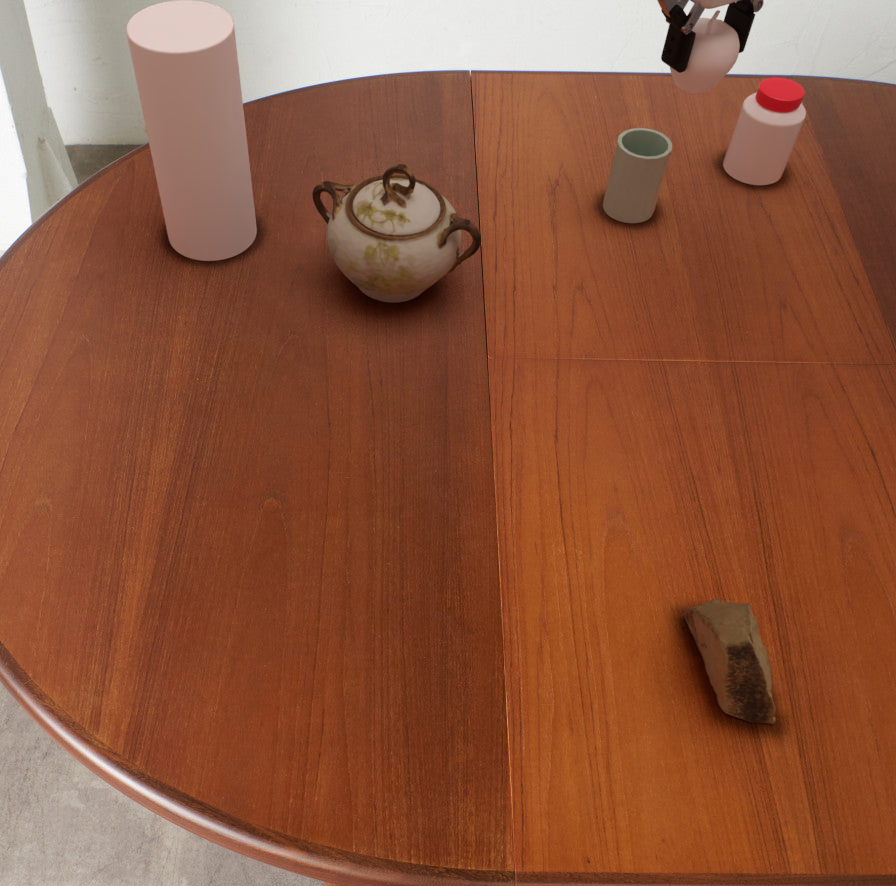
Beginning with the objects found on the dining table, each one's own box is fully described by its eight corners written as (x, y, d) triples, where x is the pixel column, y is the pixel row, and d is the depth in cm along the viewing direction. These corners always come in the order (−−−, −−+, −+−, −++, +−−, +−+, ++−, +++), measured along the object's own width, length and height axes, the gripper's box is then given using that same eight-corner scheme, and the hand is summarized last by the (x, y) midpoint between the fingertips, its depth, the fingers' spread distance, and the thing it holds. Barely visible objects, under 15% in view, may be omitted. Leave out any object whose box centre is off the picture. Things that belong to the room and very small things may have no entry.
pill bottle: (773, 192, 121) (805, 112, 112) (714, 174, 123) (741, 94, 114) (789, 162, 125) (821, 83, 116) (732, 145, 127) (760, 65, 118)
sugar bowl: (493, 263, 112) (509, 149, 100) (451, 344, 103) (463, 230, 91) (341, 222, 116) (338, 108, 104) (289, 297, 107) (279, 182, 95)
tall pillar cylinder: (152, 248, 112) (105, 39, 92) (194, 198, 118) (159, -9, 98) (232, 270, 110) (203, 60, 90) (271, 218, 116) (251, 10, 96)
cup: (632, 187, 121) (649, 122, 114) (664, 214, 118) (683, 149, 111) (592, 201, 119) (606, 136, 112) (623, 229, 116) (640, 164, 109)
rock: (658, 583, 82) (651, 674, 76) (743, 544, 77) (744, 639, 70) (734, 650, 86) (734, 743, 79) (821, 617, 80) (829, 715, 73)
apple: (669, 104, 97) (690, 26, 91) (652, 68, 101) (672, -9, 95) (735, 102, 97) (761, 24, 91) (716, 67, 102) (740, -10, 95)
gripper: (713, -108, 78) (660, 96, 92) (861, -146, 83) (789, 52, 98) (654, -139, 82) (612, 61, 96) (799, -174, 87) (739, 21, 101)
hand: (702, 55), depth 97 cm, fingers closed on apple, 7 cm apart
